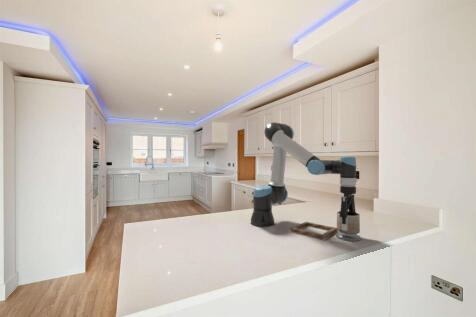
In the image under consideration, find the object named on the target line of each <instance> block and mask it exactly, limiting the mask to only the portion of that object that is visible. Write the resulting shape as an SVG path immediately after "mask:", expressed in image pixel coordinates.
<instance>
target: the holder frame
mask: <svg viewBox="0 0 476 317" xmlns="http://www.w3.org/2000/svg"><path fill="white" fill-rule="evenodd" d="M305 227H311V228H316V229H320V230H325V231H326V232H324V233H322V234H321V233H318V232H314V231H310V230H309V231H308V230H305V229H304V228H305ZM290 233H296V234H299V235H303V236H307V237H311V238H315V239H320V240H323V241H325V240H326V239H328V238H330V237H331V236H332V235H334V234H336V233H338V230H337V227H336V226H330V225H325V224H319V223H314V222H309V221H304V222H302V223H300V224H298V225H295V226H293V227H291V228H290Z"/></svg>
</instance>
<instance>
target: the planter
mask: <svg viewBox="0 0 476 317" xmlns="http://www.w3.org/2000/svg"><path fill="white" fill-rule="evenodd" d="M355 212H356V211H355ZM355 212H350V211H349V210H348V213H347V218H348V231H345V230H341V217H340V210H339V211H337V212H336V228H337V232H341V233H345V234H357V235H359V234H360V232H361V229H360V228H361V224H360V220H361V219H360V213H358V212H356V213H355ZM343 215H344V214H343Z"/></svg>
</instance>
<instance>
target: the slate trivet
mask: <svg viewBox="0 0 476 317" xmlns="http://www.w3.org/2000/svg"><path fill="white" fill-rule="evenodd" d="M335 237H336V238H337V239H339V240H342V241H346V242H360V241H361V240H362V237H361V236H360V235H359V234H345V233H341V232H339V231H337V232H335Z"/></svg>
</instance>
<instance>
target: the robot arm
mask: <svg viewBox="0 0 476 317" xmlns="http://www.w3.org/2000/svg"><path fill="white" fill-rule="evenodd" d="M264 128H265V129H264V136H265V138H266V139H267V140H268V141H269V142H270V143H271V144H272V146H273V153H272V163H271V164H272V165H271V175H270V181H269V182H267V185H259V186H255V187H254V188H253V194H252V195H253V196H252V197H253V205H252V206H253V207H252V208H253V211H252V215H251V218H250V224H251V225H253V226H257V227H271V226H274V225H275V217H274V214H273V211H272V210H273V209H272V208H273V205H279V204H280V205H281V204H282V203H284V202H286V201H287V198H288V197H289V195H288V194H289V193H288V190H287V188H286V184H285V183H284V179H285V170H286V159H287V154H289V155H290V156H291V157H293V158H294V159H295V160H297V161H298V162H299V163H300V164H302V165H303V166H304V167H305V168H307V171H308V173H309V174H311V175H315V176H319V175H331V174H332V175H339V184H340V186H339V192H340V193H341V194H343V196H341V200H340V202H341V203H340V210H339V211H340V217H341V230H345V231H348V218H347V213H348V211H350V212H355V213H357V212H356V205H355V204H356V203H355V194H357V187H356V185H357V182H358V180H357V162H356V161H357V159H356V157H355V156H340V158H339V159H337V160H336V159H335V160H331V159H330V160H329V159H320V158H319V157H317V156H316V155H315V154H313V153H312V152H311V151H309V150H308V149H306V148H305V147H304V146H302V145H301V144H299V143H298V142H296V140H293V139H294V136H295V133H294V129H293V127H292V126H291V125H288V124H285V123H280V122H275V121H274V122H273V121H272V122H270V123H268V124H267V125H266V126H265V127H264ZM343 214H344V215H343Z"/></svg>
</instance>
